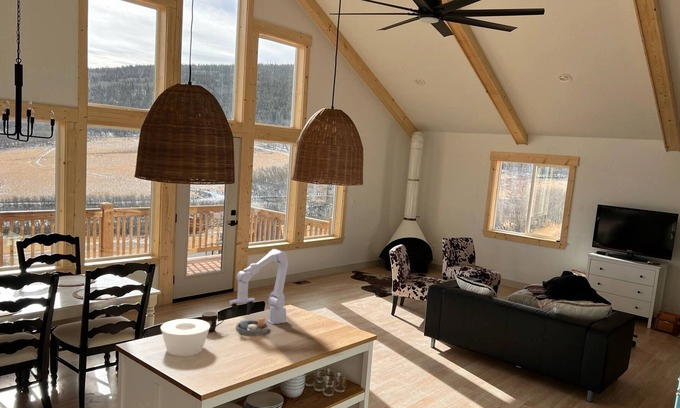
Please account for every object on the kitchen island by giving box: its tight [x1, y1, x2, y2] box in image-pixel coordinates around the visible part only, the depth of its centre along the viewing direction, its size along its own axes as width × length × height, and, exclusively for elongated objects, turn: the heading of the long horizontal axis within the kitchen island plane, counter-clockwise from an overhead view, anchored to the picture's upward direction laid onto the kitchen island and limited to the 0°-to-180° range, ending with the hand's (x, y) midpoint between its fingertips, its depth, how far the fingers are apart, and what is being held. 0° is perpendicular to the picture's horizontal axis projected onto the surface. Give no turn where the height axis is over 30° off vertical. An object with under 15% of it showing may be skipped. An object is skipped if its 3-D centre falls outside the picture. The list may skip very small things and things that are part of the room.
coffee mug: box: [201, 310, 225, 334], centre depth 288 cm, size 12×9×10 cm
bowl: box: [160, 318, 210, 357], centre depth 261 cm, size 24×24×12 cm
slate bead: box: [239, 319, 249, 330], centre depth 292 cm, size 4×4×5 cm
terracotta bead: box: [257, 317, 266, 328], centre depth 297 cm, size 4×4×5 cm
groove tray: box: [235, 320, 270, 337], centre depth 295 cm, size 18×18×2 cm
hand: (241, 315), depth 295 cm, fingers open, 7 cm apart
